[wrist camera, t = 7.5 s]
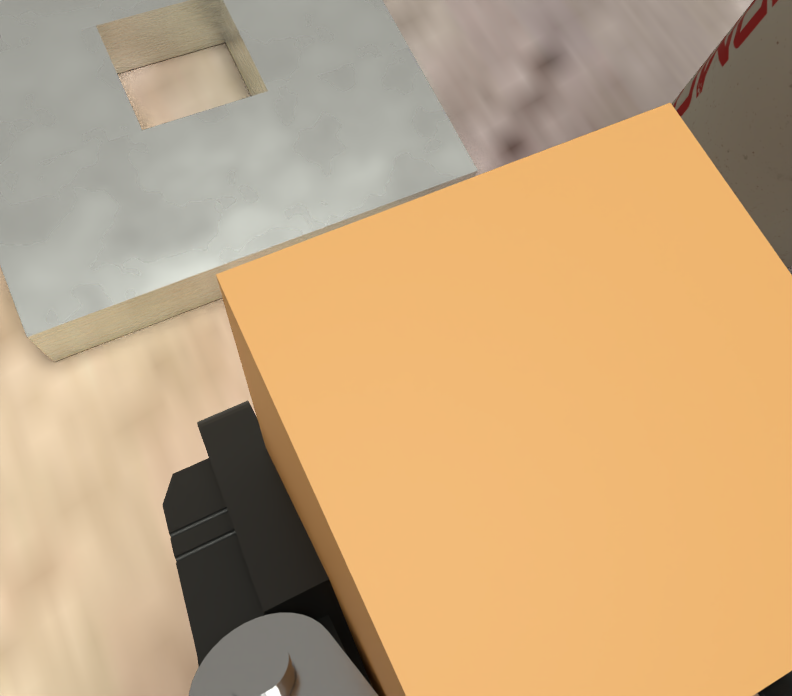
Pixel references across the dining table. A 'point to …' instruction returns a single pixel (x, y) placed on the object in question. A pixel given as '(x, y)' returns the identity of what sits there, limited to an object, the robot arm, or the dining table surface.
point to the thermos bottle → (750, 116)
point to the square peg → (541, 424)
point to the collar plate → (196, 151)
